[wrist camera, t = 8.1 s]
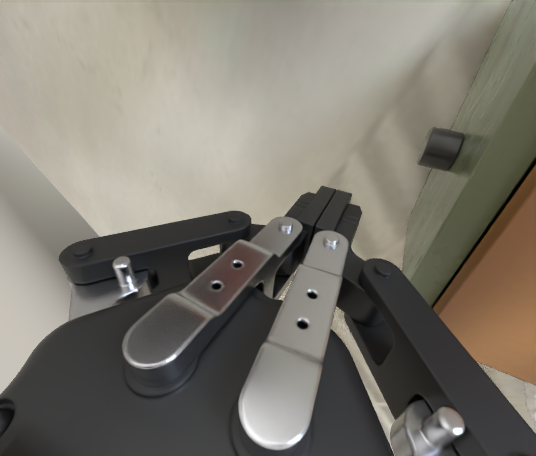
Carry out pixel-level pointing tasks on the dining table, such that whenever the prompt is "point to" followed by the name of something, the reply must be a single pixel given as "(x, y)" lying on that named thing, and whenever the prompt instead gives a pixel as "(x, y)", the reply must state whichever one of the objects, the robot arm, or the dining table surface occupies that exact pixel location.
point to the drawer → (476, 158)
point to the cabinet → (499, 291)
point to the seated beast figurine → (531, 399)
